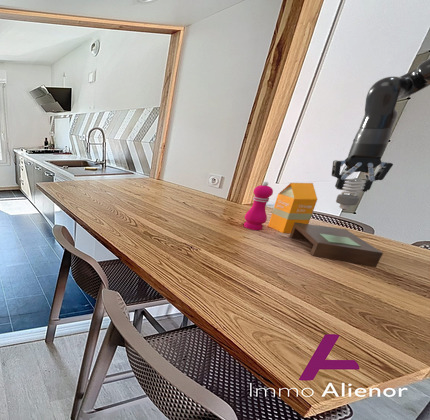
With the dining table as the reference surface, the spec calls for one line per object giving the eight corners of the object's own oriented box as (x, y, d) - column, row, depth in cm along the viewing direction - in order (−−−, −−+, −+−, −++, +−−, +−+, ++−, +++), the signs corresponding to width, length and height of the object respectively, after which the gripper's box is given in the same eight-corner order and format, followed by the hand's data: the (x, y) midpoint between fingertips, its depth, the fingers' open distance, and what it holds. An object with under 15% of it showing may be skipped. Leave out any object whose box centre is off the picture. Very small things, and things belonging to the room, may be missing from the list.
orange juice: (267, 225, 106) (281, 180, 99) (288, 226, 105) (304, 181, 99) (282, 233, 98) (299, 185, 92) (305, 233, 98) (323, 185, 92)
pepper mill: (260, 226, 105) (274, 180, 99) (266, 232, 99) (280, 184, 93) (240, 223, 108) (252, 179, 102) (244, 229, 102) (257, 182, 96)
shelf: (339, 243, 89) (345, 228, 87) (374, 270, 73) (383, 252, 71) (289, 236, 96) (294, 221, 94) (311, 259, 79) (318, 242, 77)
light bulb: (339, 211, 89) (351, 178, 85) (328, 206, 94) (339, 176, 90) (359, 212, 87) (372, 179, 84) (347, 208, 93) (359, 176, 89)
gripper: (346, 142, 83) (328, 190, 89) (410, 143, 77) (387, 194, 82) (335, 141, 89) (319, 186, 95) (393, 142, 83) (373, 190, 88)
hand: (351, 190), depth 88 cm, fingers closed on light bulb, 5 cm apart
